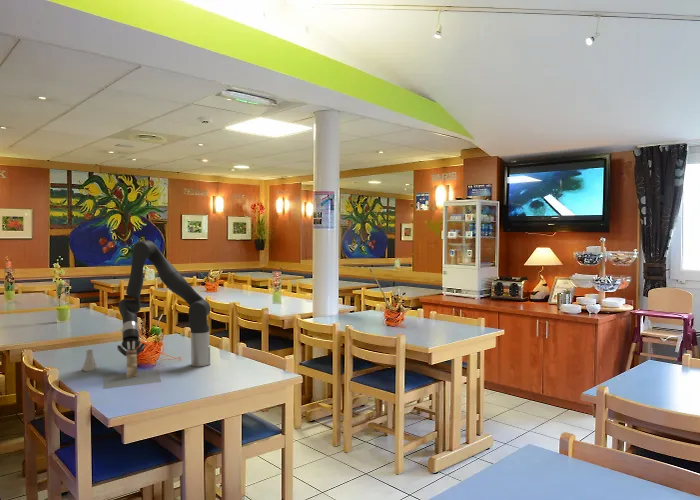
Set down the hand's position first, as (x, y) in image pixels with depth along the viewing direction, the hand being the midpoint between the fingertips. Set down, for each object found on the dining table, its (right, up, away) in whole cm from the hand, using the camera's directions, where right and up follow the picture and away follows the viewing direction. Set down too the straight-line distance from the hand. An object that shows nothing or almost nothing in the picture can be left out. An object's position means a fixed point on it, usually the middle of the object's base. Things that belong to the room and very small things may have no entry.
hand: (131, 361), depth 248 cm
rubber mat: (+4, -7, -7) cm, 11 cm away
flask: (-25, -6, +10) cm, 28 cm away
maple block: (+1, -6, -3) cm, 7 cm away
